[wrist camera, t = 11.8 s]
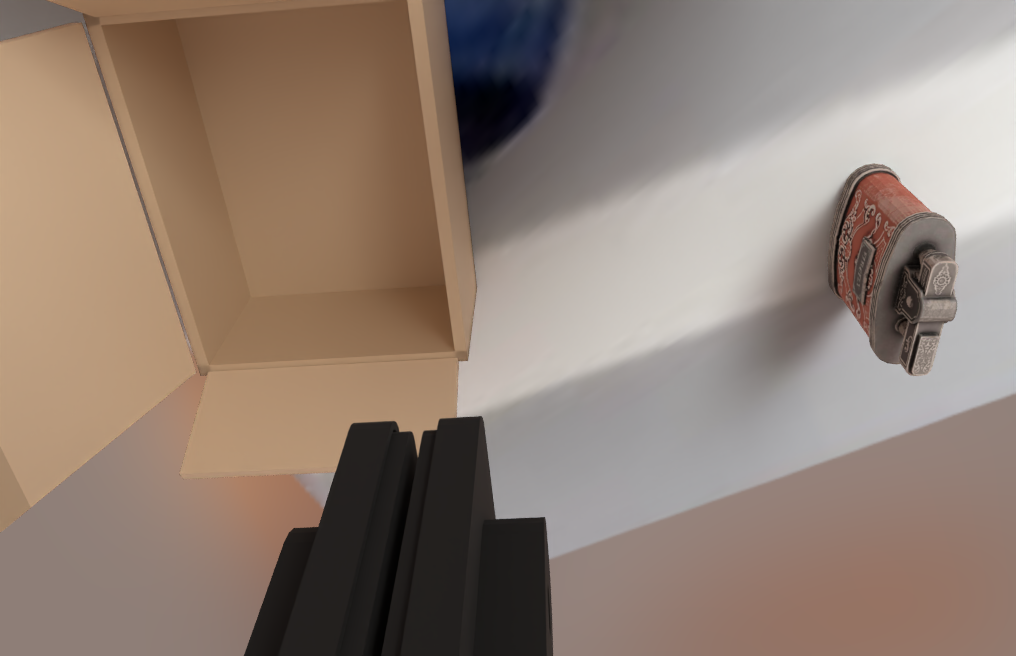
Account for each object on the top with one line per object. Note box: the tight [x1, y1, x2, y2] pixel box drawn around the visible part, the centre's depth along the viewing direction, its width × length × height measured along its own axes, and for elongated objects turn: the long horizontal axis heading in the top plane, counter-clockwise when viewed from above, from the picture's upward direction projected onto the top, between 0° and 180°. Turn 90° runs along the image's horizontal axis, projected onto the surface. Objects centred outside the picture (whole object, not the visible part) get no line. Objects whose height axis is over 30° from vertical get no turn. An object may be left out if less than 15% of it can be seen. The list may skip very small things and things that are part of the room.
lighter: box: [828, 163, 958, 376], centre depth 42 cm, size 8×3×10 cm, turn 2°
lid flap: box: [0, 23, 196, 533], centre depth 33 cm, size 12×17×1 cm
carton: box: [47, 0, 477, 479], centre depth 39 cm, size 14×22×14 cm, turn 5°
